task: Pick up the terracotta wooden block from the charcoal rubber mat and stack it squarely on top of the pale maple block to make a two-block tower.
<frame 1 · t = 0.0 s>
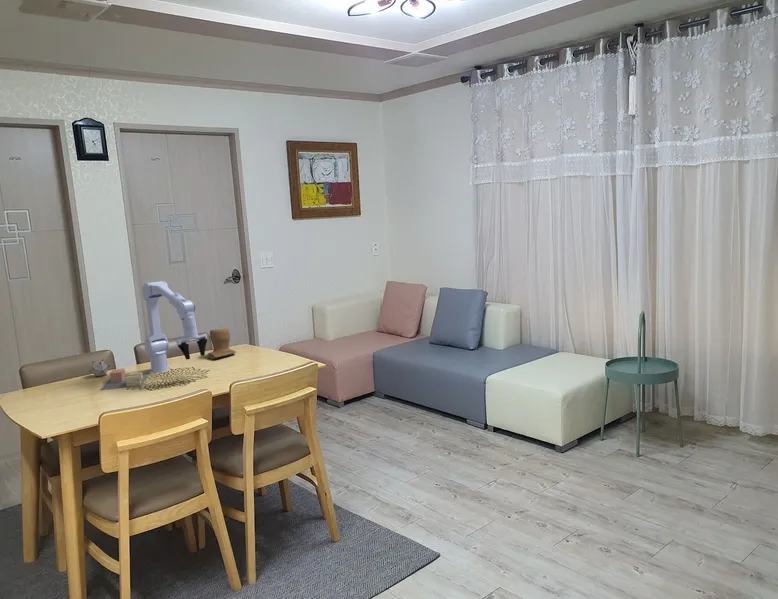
hand: (195, 357, 273), 11 cm above the table, tool pointing down, fingers open, 7 cm apart
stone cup: (220, 356, 321), on the table
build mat: (125, 382, 277), on the table
game die: (100, 376, 290), on the table
terracotta block: (118, 380, 280), resting on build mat
maple block: (134, 383, 273), resting on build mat
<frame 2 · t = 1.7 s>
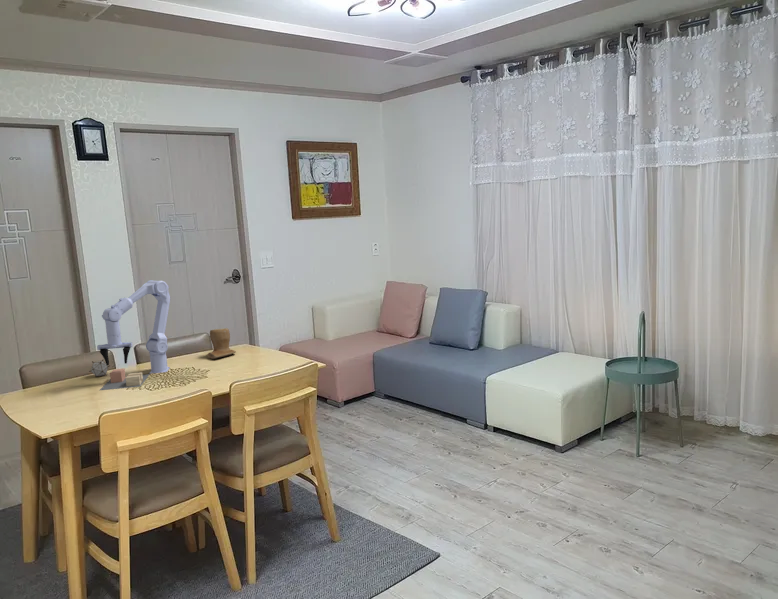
hand: (116, 363, 277), 8 cm above the table, tool pointing down, fingers open, 7 cm apart
nothing on the table moved.
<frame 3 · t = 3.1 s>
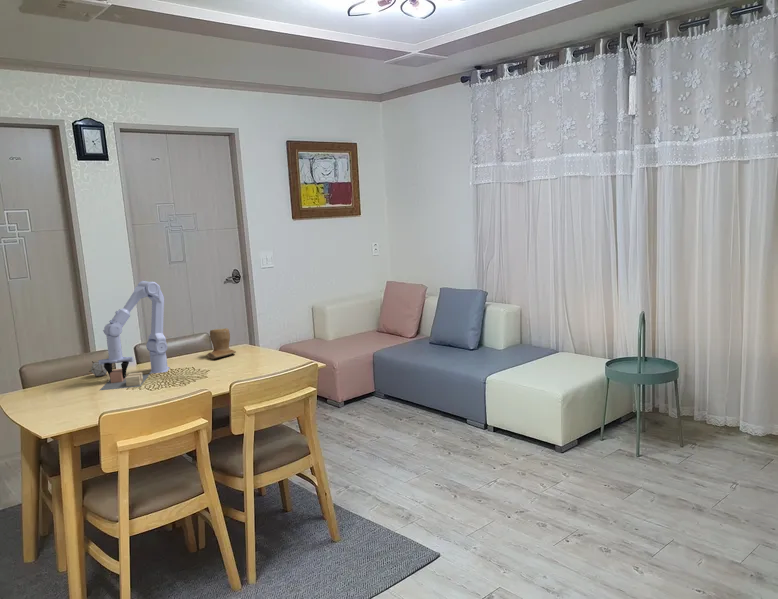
hand: (118, 378, 280), 1 cm above the table, tool pointing down, fingers closed on terracotta block, 5 cm apart
terracotta block: (118, 380, 280), resting on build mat, touching gripper
everything else where it was.
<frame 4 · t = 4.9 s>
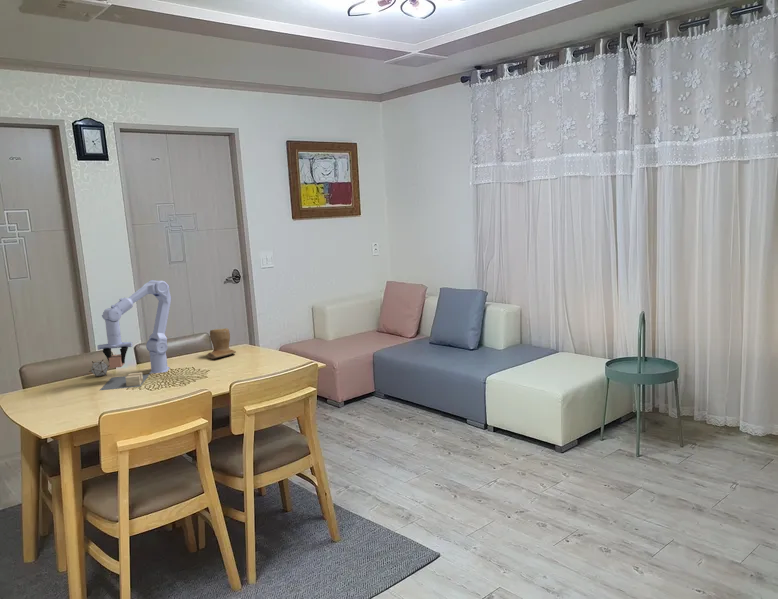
hand: (117, 363, 278), 8 cm above the table, tool pointing down, fingers closed on terracotta block, 5 cm apart
terracotta block: (117, 365, 278), point 7 cm above the table, touching gripper
everything else where it was.
when the fingers open (6 cm above the table, at t = 6.5 s): terracotta block stays where it is, resting on maple block.
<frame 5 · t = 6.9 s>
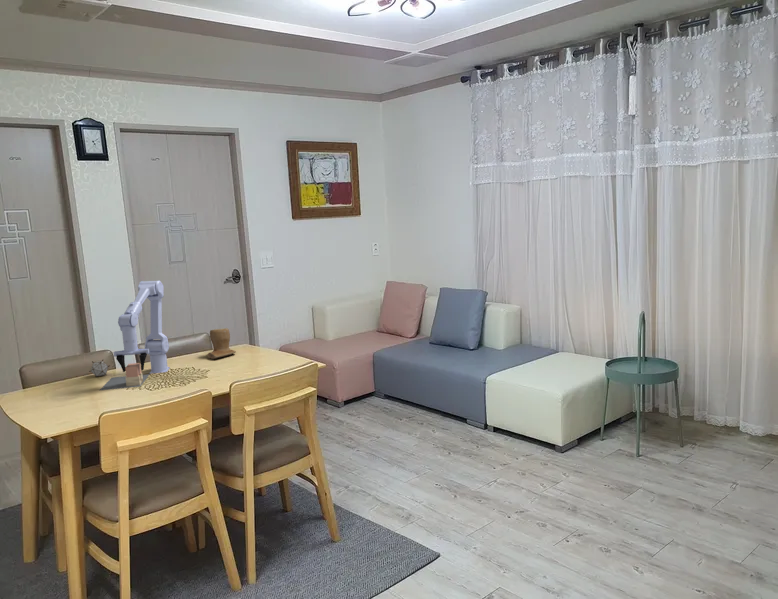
hand: (133, 370, 272), 6 cm above the table, tool pointing down, fingers open, 7 cm apart
terracotta block: (133, 375, 272), point 4 cm above the table, touching maple block
maple block: (134, 383, 273), resting on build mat, touching terracotta block
everything else where it was.
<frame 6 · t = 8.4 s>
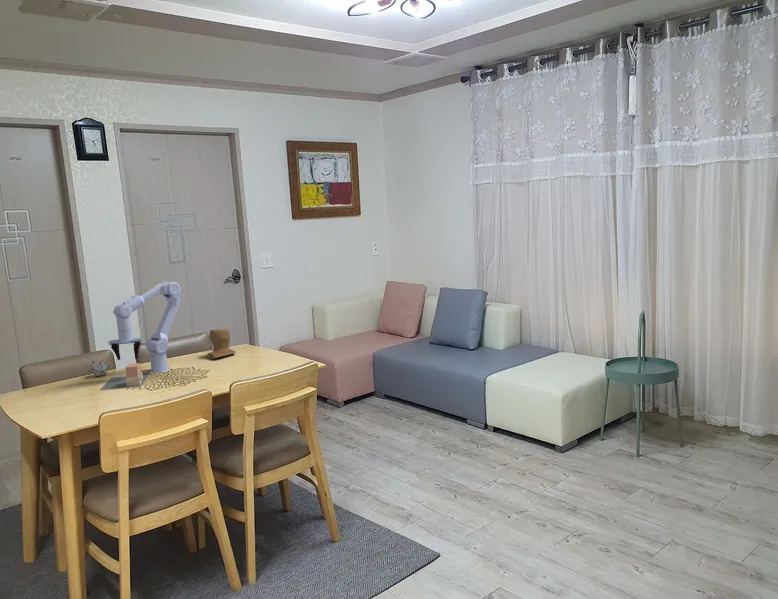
hand: (127, 358, 282), 9 cm above the table, tool pointing down, fingers open, 7 cm apart
nothing on the table moved.
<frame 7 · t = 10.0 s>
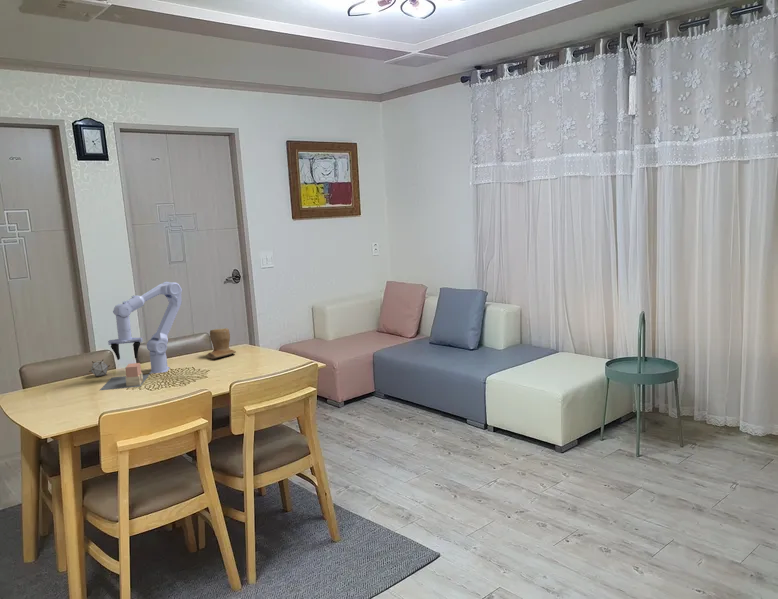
hand: (127, 358, 283), 9 cm above the table, tool pointing down, fingers open, 7 cm apart
nothing on the table moved.
at the end: terracotta block 0.0 cm off-centre on the maple block, point 4.0 cm above the maple block's base; terracotta block tilted 0°; the gripper is holding nothing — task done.
